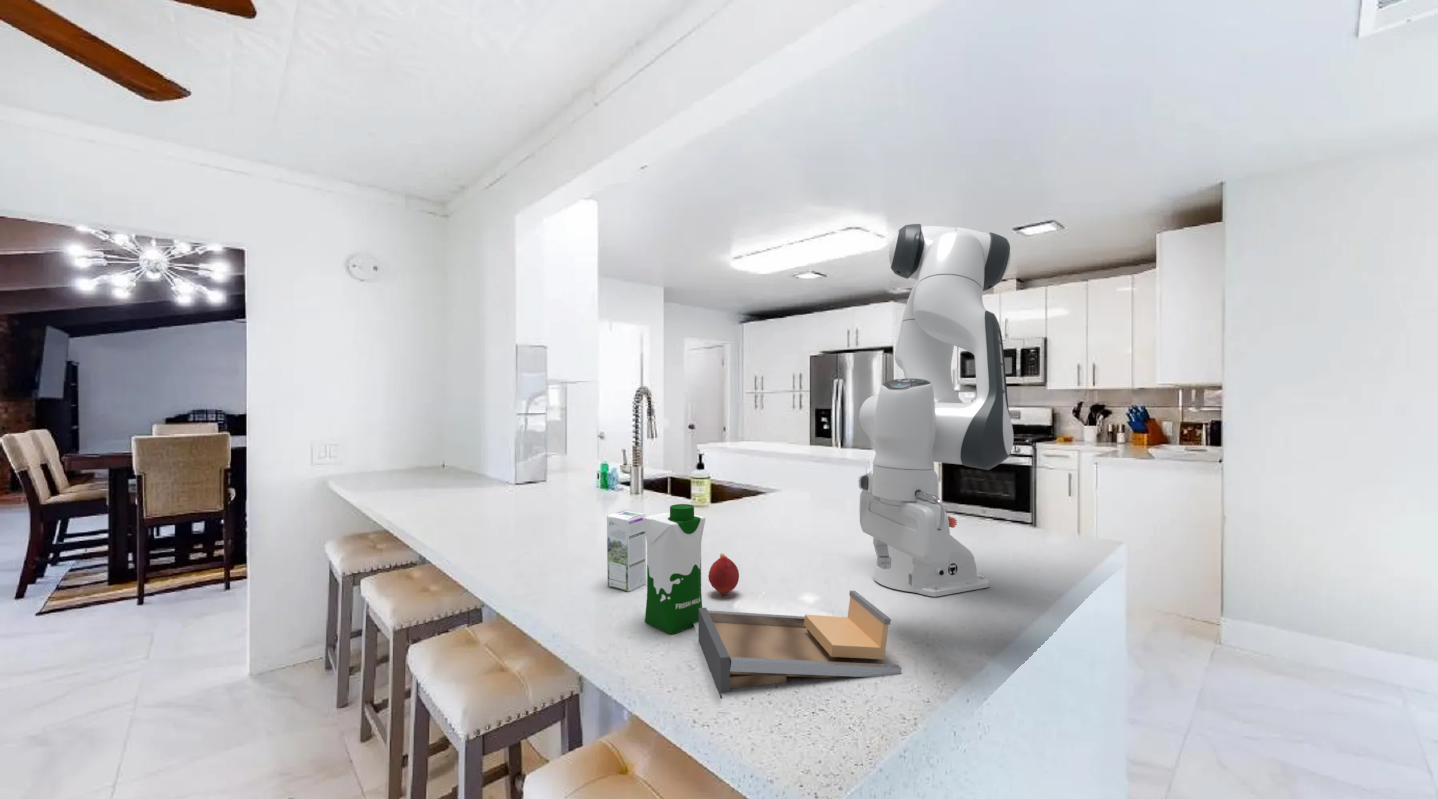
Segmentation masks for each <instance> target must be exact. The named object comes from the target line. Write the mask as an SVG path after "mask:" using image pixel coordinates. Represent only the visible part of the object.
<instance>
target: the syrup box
mask: <svg viewBox="0 0 1438 799" xmlns="http://www.w3.org/2000/svg"><path fill="white" fill-rule="evenodd" d="M642 517H646V514H645V513H641V512H635V511H628V510H622V511H621V510H620V511H617V512H614V513H611V514H609V515H606V544H607V545H606V546H607V548H606V550H607V552H606V554H607V560H606V561H607V562H606V563H607V566H606V567H607V569H606V570H607V587H608V588H613V589H616V590H621V591H625V592H631V591H634V590H637V589H639V588H640V587H643V586H645V585H647V540H646V534H645V529H644V524H643V519H642Z"/></svg>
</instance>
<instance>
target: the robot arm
mask: <svg viewBox="0 0 1438 799" xmlns="http://www.w3.org/2000/svg"><path fill="white" fill-rule="evenodd" d="M921 224H922V223H911V224H905V225H904V226H902V227H901V228H900V229H898V232H897V233H896V234H895V236H894V237H893V239H892V241H891V244H890V247H889V251H888V253H889V254H888V258H889V259H888V260H889V262H890V263H889V264H890V269H891V271H892V272H893V273H894V275H897V276H898V277H901V278H904V279H906V280H908V279H909V278H910V279H913V280H917V281H916V282H915V283H914V285H913V287H912V288H911V291H910V293H909V296H908V298H907V302H906V304H905V308H904V312H903V315H902V319H901V322H900V327H899V328H900V329H899V333H898V338H897V341H896V342H897V343H896V346H895V352H894V360H895V363H896V365H897V366H898V367H899V368H900V369H901V370H902V372H903V377H904V378H901V379H900V378H897V379H896V378H895V379H891V380H888V381H885V382H884V383H883V384H881V386H880V388H879V392H878V393H877V394H874V395H871V396H869V397H868V398H866V399H865V400H864V401H863V402H862V405H861V406H860V408H859V414H858V415H859V416H858V418H859V419H858V420H859V424H860V427H861V429H862V430H863V432H864V433H865V434H866V435H867V436H868V438H869V439H870V441H871V444H872V447H873V448H874V451H875V456H874V459H873V462H872V464H873V465H872V470H871V471H868V472H867V473H865V474H861V475H860V476H858V482H857V483H858V488H859V489H860V490H861V492H860V494H859V509H858V510H859V526H860V527H861V528H860V529H861V531H862V533H863V534H866V535H869V536H870V537H872V539H873V540H872V544H873V546H874V547H873V548H874V551H875V554H876V565H875V566H876V567H875V570H874V573H873V576H872V577H873V578H872V579H873V580H874V581H875V582H877V583H878V584H880V585H881V586H884V587H887V588H890V589H892V590H893V589H894V590H897V591H902V592H909V593H916V594H920V595H924V596H929V597H933V598H934V597H935V598H936V597H942V596H947V595H952V594H953V595H954V594H959V593H964V592H969V591H973V590H981V589H985V588H986V589H987V588H989V587H990V581H989V579H988V578H987V577H986V576H984V575H983V574H981V573H980V572H978V571H977V564H976V560H975V556H974V554H973V553H972V551H971V550H970V549H969V548H967V546H965V545H963V544H962V543H961V542H960V541H959V540H957V539H956V538H955V537H954V536H952V535H951V531H950V530H951V529H953V528H955V527H956V526H957V525H958V520H957V519H956V518H955V517H951V516H949V515H948V513H947V512H946V508H945V506H944V505H943V503H942V501H941V500H940V497H939V488H940V486H939V476H938V474H937V472H936V470H935V463H942V464H954V465H963V466H965V467H970V468H975V469H981V470H986V471H989V470H992V469H993V468H996V467H997V466H998V465H1000V464H1002V463H1003V462H1004V461H1006V460H1007V459H1008V458H1010V456H1011V455H1012V454H1011V453H1012V450H1013V446H1014V436H1015V435H1014V429H1013V428H1014V427H1013V422H1012V421H1011V417H1010V410H1009V409H1010V408H1009V399H1008V389H1007V388H1008V386H1007V374H1006V363H1005V361H1006V360H1005V354H1004V353H1005V352H1004V342H1003V335H1002V330H1001V327H1000V326H1001V325H1000V323H999V321H998V318H997V316H996V315H995V313H993V312H991V311H989V310H987V309H986V308H985V306H984V303H983V293H984V292H985V291H988V290H991V289H992V288H993V287H995V286H996V285H998V284H1000V282H1001V281H1002V279H1003V277H1004V276H1005V275H1006V273H1007V271H1008V269H1009V267H1010V263H1011V246H1010V242H1009V241H1008V239H1007V238H1006V237H1004V236H1002V235H1000V234H998V233H995V232H991V231H990V232H989V233H988V232H983V231H979V230H976V229H972V228H967V227H961V226H953V227H952V226H943V225H921ZM955 347H957V348H960V349H963V350H965V351H967V352H969V353H971V354H972V355H973V356H974V366H975V382H976V385H975V386H976V398H975V399H974V400H973V401H971V402H963V400H962V399H961V398H960V397H959V396H958V394H957V392H956V390H955V388H954V384H953V378H952V361H953V356H954V348H955ZM950 528H951V529H950Z"/></svg>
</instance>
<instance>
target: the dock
mask: <svg viewBox="0 0 1438 799" xmlns="http://www.w3.org/2000/svg"><path fill="white" fill-rule="evenodd" d="M804 619H805V615H804V616H802V615H787V614H785V615H784V614H771V613H770V614H769V613H754V612H738V611H736V612H735V611H725V610H724V611H720V610H708V608H707V607H702V608H698V621H697V622H698V643H699V646H700V649H701V651H702V654H703V656H704V660H705V661H706V662H705V663H706V664H707V667H708V670H709V672H710V674H711V677H712V680H713V682H714V685H715V689H716V690H717V692H718V695H719V698H720V699H723V695H722V694H726V693H730V692H731V689H733V688H734V689H735V688H744V687H751V686H752V687H753V686H762V685H773V684H781V683H787V677H793V678H794V677H797V678H798V677H799V678H818V679H819V678H821V679H827V678H837V677H853V678H855V677H856V678H857V677H858V678H859V677H860V678H873V677H874V678H875V677H882V676H883V677H884V676H891V675H892V676H893V675H901V674H902V667H901V666H900V665H899V664H890V663H889V664H887V663H884V664H883V663H871V662H870V663H866V662H865V663H864V662H855V660H853V658H849V657H837V658H836V659H835V660H832V659H830V658H829V653H828V652H827V651H826V650H825V649H824V648H823V646H822V645H821V644H820V643H819V642H818V641H817V640H816V638H815V637H814V636H813V635H812V634H809V633H808V632H807V628H806V627H805V626H804Z"/></svg>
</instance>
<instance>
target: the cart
mask: <svg viewBox="0 0 1438 799" xmlns="http://www.w3.org/2000/svg"><path fill="white" fill-rule="evenodd" d="M804 617H805V619H804V626H805V627H806V628H807V632H808V633H809V634H812V635H813V636H814V637H815V638H816V640H817V641H818V642H819V643H820V644H821V645H822V646H823V648H824V649H825V650H826V651H827V652H828V653H829V658H830V659H832V660H835V659H836V658H837V657H849V658H851V659H853V658H854V659H870V660H871V661H872V662H874V663H877V662H878V661H879V660H885V654H886V647H887V642H888V641H887V640H888V632H889V625H891V620H892V619H891V618H890V617H889V616H887V615H886V614H885V613H884V612H883V611H882V610H880V609H879V608H877V607H876V606H875V605H874V604H873V603H871V602H870V601H868V599H867V598H865V597H863V596H862V595H861V594H860V593H858V592H857V591H856V590H849V604H848V610H847V616H832V615H830V616H829V615H820V614H819V615H818V614H816V615H815V614H805V615H804Z"/></svg>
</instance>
